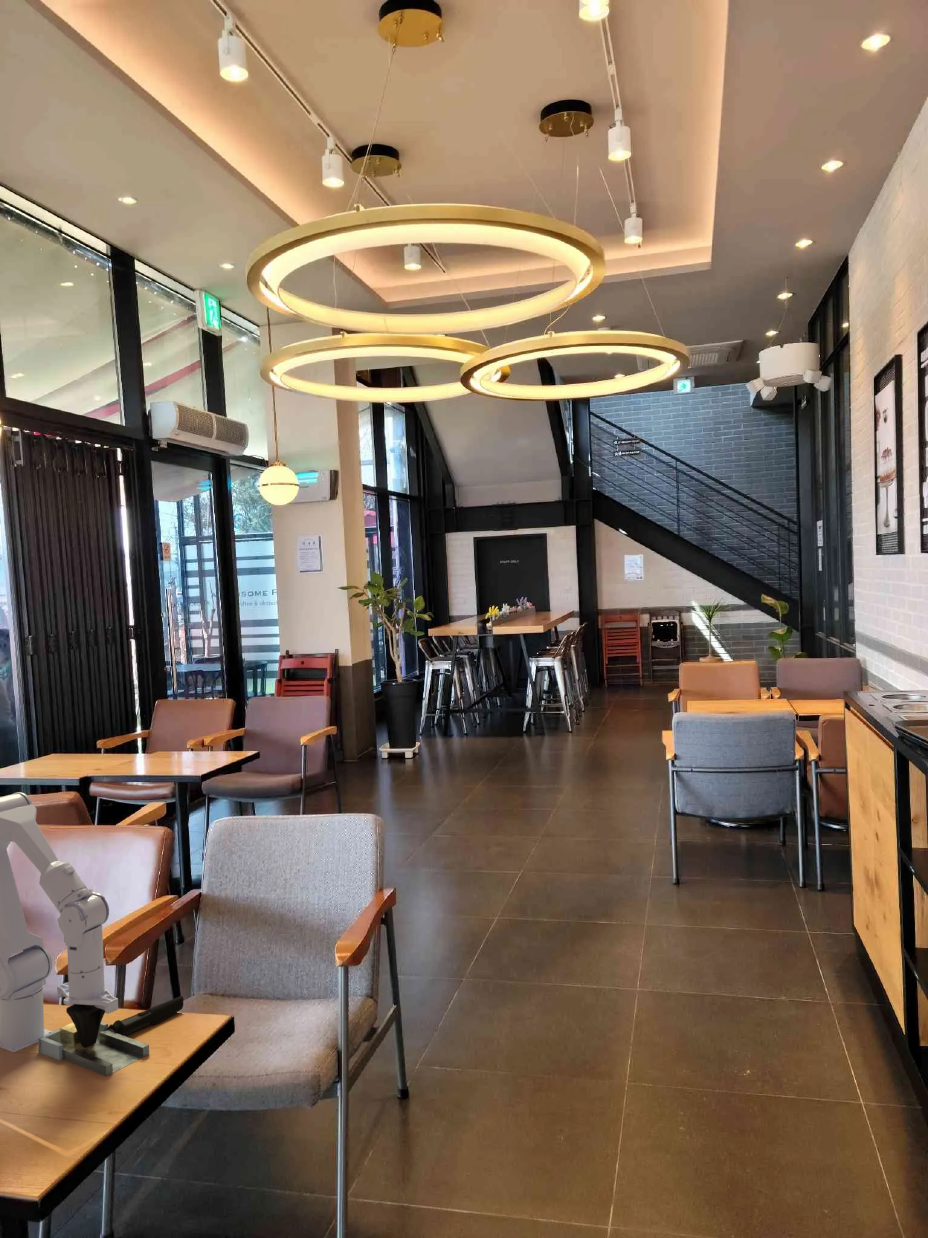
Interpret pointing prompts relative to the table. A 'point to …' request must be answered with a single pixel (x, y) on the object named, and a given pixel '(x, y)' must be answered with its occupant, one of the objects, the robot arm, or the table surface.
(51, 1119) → the table surface
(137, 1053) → the slot bed
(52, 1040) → the tray
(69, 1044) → the yellow cube
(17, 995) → the robot arm
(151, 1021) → the electric trimmer
